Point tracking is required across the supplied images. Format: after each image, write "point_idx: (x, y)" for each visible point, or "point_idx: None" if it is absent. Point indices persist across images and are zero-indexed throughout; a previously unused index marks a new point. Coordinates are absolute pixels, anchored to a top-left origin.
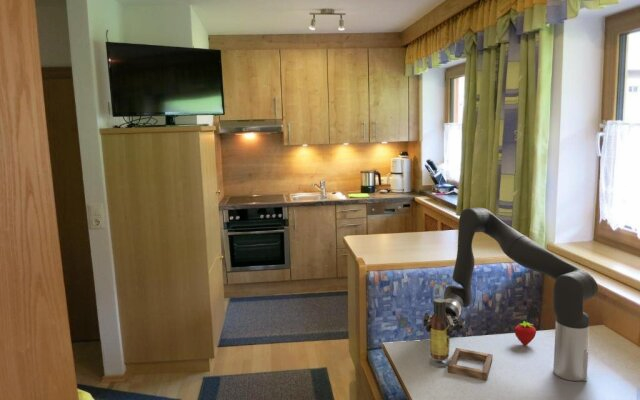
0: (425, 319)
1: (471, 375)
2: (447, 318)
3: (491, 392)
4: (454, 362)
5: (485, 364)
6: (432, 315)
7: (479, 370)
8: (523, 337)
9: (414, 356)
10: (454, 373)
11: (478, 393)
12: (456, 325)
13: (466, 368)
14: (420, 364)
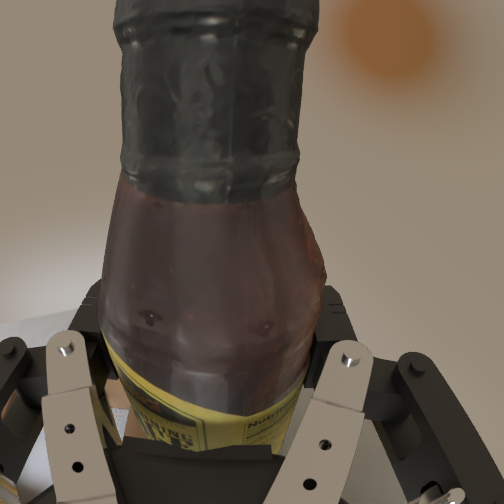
0: (408, 359)
1: None
2: (107, 243)
3: (37, 323)
4: (130, 407)
5: (2, 411)
6: (302, 212)
7: None
8: None
9: (360, 467)
10: None
11: (73, 312)
12: (31, 368)
13: None
14: (301, 417)
